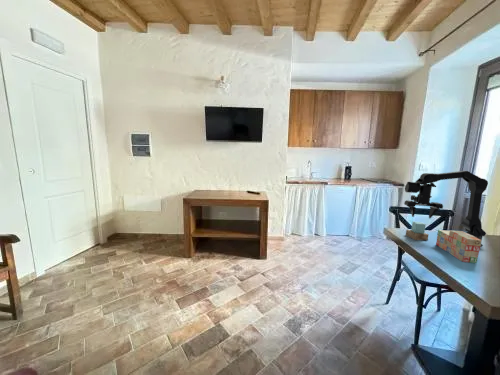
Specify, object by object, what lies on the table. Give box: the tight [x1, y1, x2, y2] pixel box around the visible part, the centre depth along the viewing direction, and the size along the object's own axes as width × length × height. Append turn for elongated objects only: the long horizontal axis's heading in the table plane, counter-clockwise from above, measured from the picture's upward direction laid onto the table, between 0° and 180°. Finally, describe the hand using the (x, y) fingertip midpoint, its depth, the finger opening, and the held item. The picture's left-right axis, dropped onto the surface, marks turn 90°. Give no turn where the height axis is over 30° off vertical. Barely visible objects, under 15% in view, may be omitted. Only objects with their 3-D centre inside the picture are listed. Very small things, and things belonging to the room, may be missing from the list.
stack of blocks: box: [435, 229, 483, 264], centre depth 116 cm, size 21×6×12 cm, turn 168°
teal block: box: [410, 220, 427, 234], centre depth 138 cm, size 5×5×6 cm
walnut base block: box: [405, 229, 429, 241], centre depth 138 cm, size 8×8×4 cm
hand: (421, 217), depth 138 cm, fingers open, 9 cm apart
